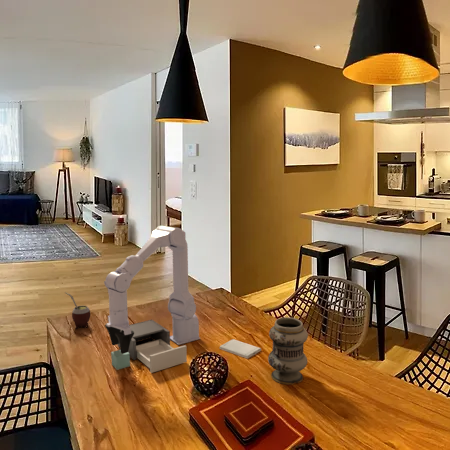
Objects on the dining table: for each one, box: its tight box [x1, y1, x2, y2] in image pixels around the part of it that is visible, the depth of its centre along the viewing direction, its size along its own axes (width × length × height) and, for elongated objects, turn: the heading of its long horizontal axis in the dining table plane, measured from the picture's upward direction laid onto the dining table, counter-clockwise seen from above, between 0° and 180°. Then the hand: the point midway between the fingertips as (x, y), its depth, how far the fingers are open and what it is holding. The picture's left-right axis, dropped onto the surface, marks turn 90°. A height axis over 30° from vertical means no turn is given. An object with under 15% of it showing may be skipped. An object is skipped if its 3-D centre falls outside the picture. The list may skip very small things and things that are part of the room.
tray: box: [136, 339, 188, 374], centre depth 151 cm, size 13×17×6 cm
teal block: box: [110, 349, 131, 371], centre depth 146 cm, size 4×4×4 cm
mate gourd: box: [64, 291, 91, 330], centre depth 178 cm, size 8×8×15 cm
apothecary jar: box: [267, 316, 309, 386], centre depth 137 cm, size 12×12×18 cm
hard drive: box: [219, 338, 262, 359], centre depth 158 cm, size 2×8×12 cm
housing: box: [117, 319, 171, 361], centre depth 159 cm, size 14×14×7 cm
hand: (119, 348), depth 146 cm, fingers open, 7 cm apart
